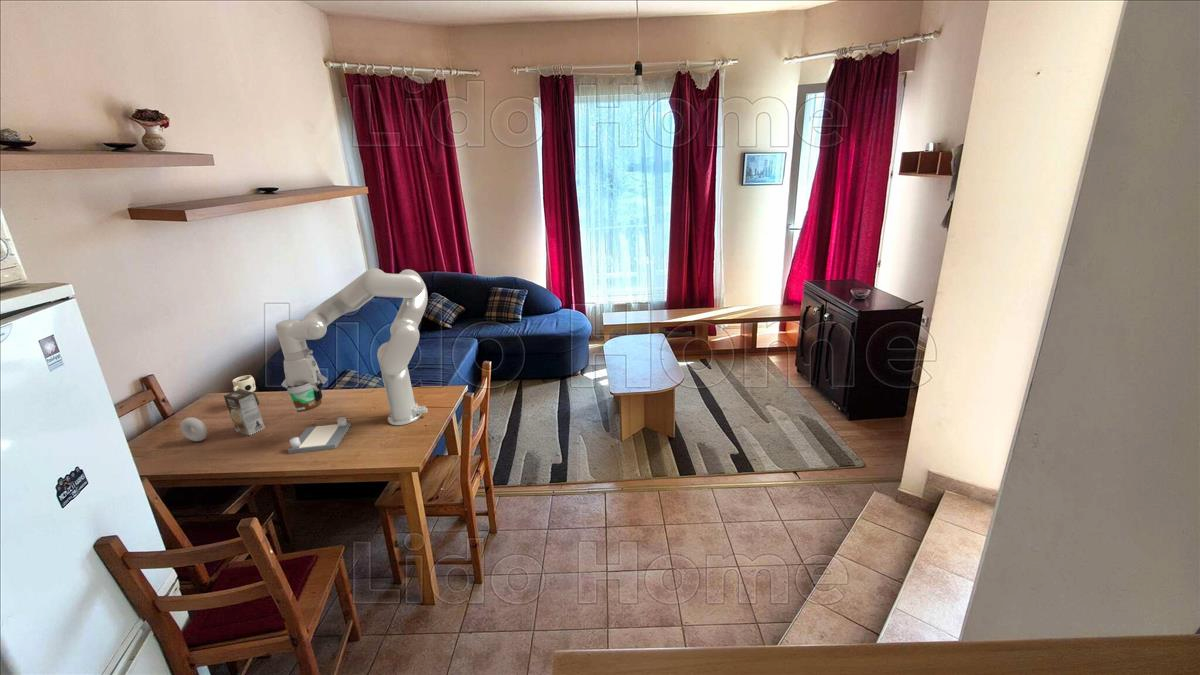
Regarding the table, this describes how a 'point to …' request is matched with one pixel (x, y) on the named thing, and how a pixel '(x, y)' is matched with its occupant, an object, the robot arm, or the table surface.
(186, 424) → the donut
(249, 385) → the character mug
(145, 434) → the table surface
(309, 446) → the board
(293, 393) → the food container
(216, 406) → the table surface
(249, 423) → the coffee box
